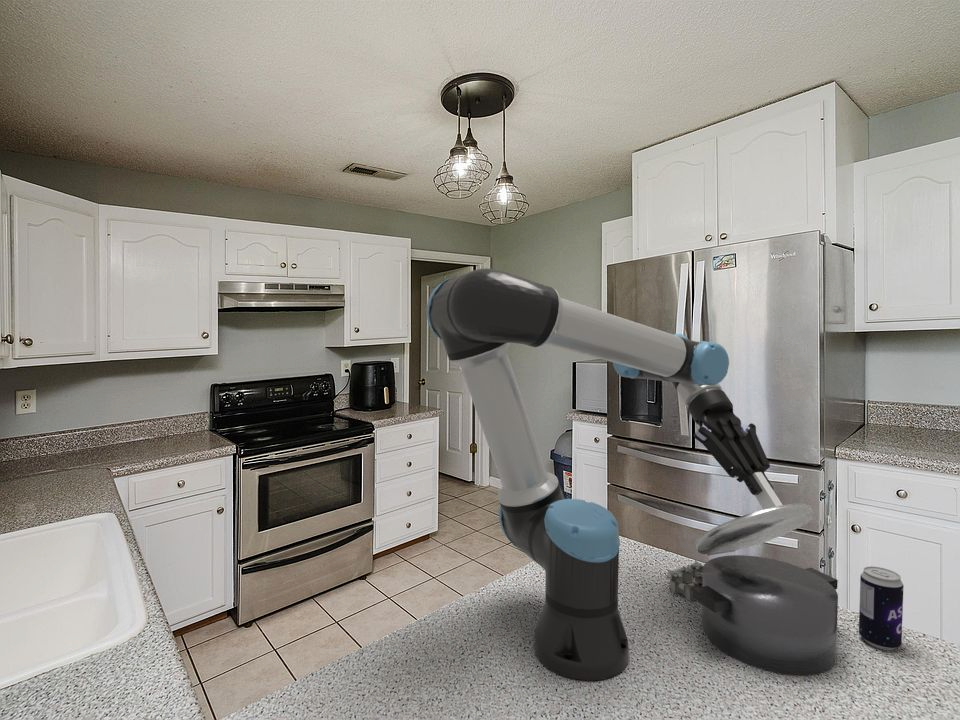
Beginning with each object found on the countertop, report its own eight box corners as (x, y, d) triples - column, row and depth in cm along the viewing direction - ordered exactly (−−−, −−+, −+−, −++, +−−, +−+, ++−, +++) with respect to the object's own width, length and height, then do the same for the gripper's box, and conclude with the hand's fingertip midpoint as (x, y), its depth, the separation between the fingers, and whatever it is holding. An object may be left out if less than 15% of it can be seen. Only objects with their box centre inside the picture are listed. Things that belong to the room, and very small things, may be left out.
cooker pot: (751, 691, 75) (752, 623, 74) (663, 619, 94) (664, 565, 93) (880, 657, 83) (882, 596, 82) (775, 597, 102) (776, 547, 101)
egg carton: (693, 605, 99) (693, 584, 99) (662, 588, 106) (662, 569, 106) (728, 591, 105) (729, 571, 104) (696, 576, 111) (697, 557, 111)
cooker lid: (743, 517, 80) (736, 502, 81) (676, 560, 95) (671, 547, 96) (840, 504, 86) (831, 491, 87) (762, 547, 101) (756, 535, 102)
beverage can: (890, 657, 83) (892, 583, 82) (851, 638, 88) (853, 569, 87) (908, 647, 85) (910, 576, 85) (869, 629, 90) (871, 562, 90)
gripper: (721, 409, 106) (790, 516, 91) (668, 412, 102) (731, 525, 87) (742, 386, 101) (819, 495, 85) (686, 388, 97) (757, 503, 82)
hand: (774, 510), depth 86 cm, fingers closed
